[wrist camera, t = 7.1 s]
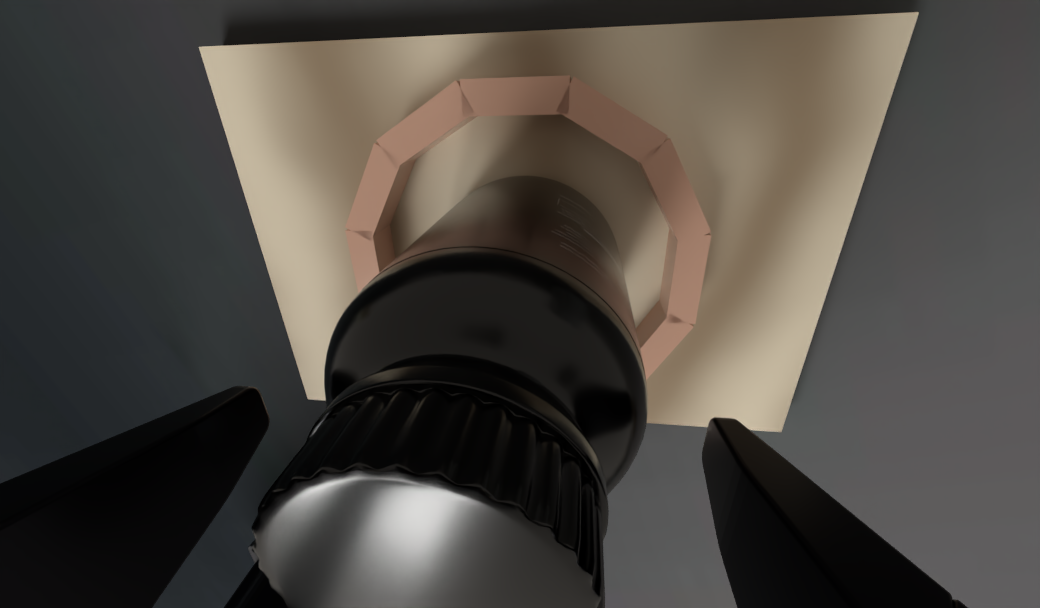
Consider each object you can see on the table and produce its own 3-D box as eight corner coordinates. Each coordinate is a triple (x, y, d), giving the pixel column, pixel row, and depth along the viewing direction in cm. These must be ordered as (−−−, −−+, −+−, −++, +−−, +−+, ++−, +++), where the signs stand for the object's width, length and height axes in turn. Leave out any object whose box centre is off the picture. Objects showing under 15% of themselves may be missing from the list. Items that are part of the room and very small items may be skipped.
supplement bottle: (422, 185, 15) (52, 388, 5) (613, 159, 14) (718, 355, 3) (461, 345, 18) (289, 700, 7) (621, 336, 17) (693, 745, 6)
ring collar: (395, 383, 20) (382, 404, 18) (339, 86, 14) (313, 83, 13) (669, 400, 18) (676, 425, 17) (724, 72, 13) (742, 69, 11)
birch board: (319, 387, 22) (307, 399, 21) (221, 50, 15) (198, 46, 14) (771, 416, 19) (781, 432, 18) (894, 18, 12) (919, 12, 11)
